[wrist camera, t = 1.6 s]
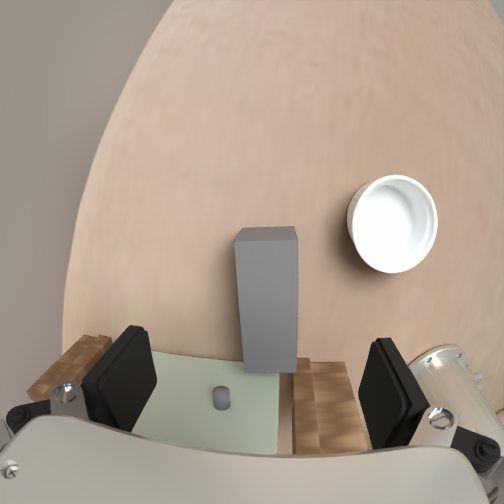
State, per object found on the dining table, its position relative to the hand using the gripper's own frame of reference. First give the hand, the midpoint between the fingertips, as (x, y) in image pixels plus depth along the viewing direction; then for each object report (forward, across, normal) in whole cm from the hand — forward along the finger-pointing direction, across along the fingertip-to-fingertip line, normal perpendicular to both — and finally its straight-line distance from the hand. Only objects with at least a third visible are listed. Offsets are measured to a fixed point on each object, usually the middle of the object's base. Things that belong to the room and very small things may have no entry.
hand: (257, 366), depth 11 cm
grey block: (+18, 0, +4) cm, 19 cm away
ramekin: (+19, -11, -4) cm, 22 cm away
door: (+18, +9, +13) cm, 24 cm away
